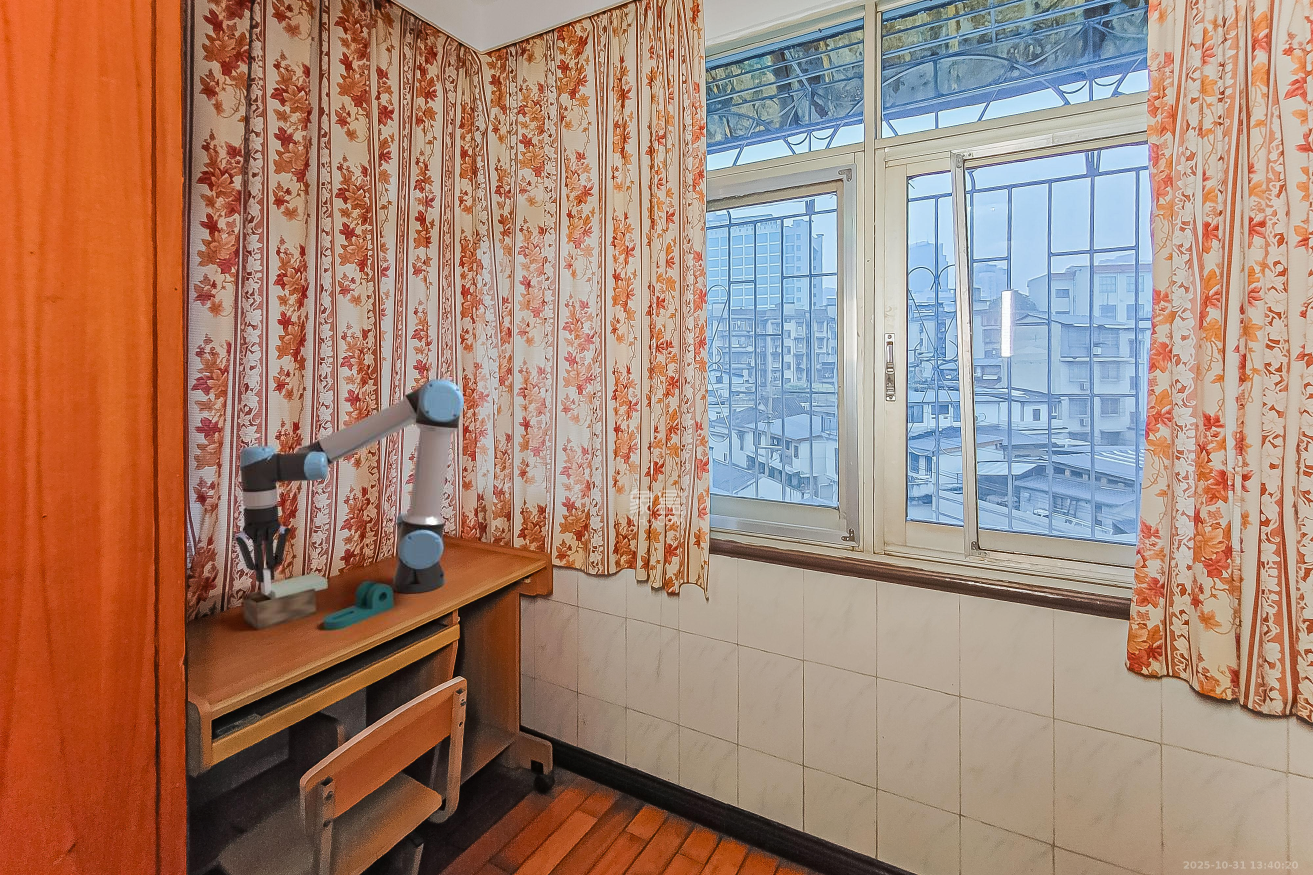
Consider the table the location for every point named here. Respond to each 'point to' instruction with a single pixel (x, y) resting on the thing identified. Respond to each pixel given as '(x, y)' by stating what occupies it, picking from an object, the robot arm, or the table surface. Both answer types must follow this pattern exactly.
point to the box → (277, 608)
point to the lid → (297, 585)
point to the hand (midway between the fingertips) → (266, 592)
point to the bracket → (362, 606)
